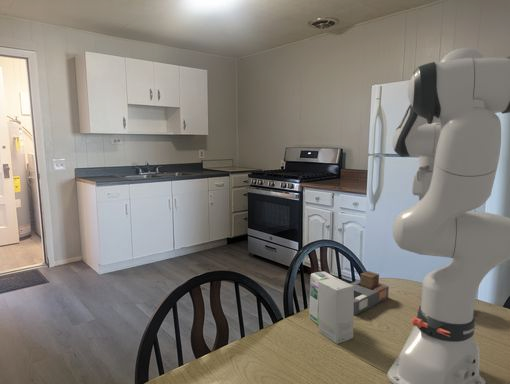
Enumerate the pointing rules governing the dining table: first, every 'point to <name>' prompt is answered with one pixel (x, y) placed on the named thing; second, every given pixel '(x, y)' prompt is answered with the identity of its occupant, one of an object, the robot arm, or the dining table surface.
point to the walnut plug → (369, 280)
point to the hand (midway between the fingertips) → (430, 206)
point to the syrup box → (316, 293)
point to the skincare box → (336, 309)
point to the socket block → (368, 296)
